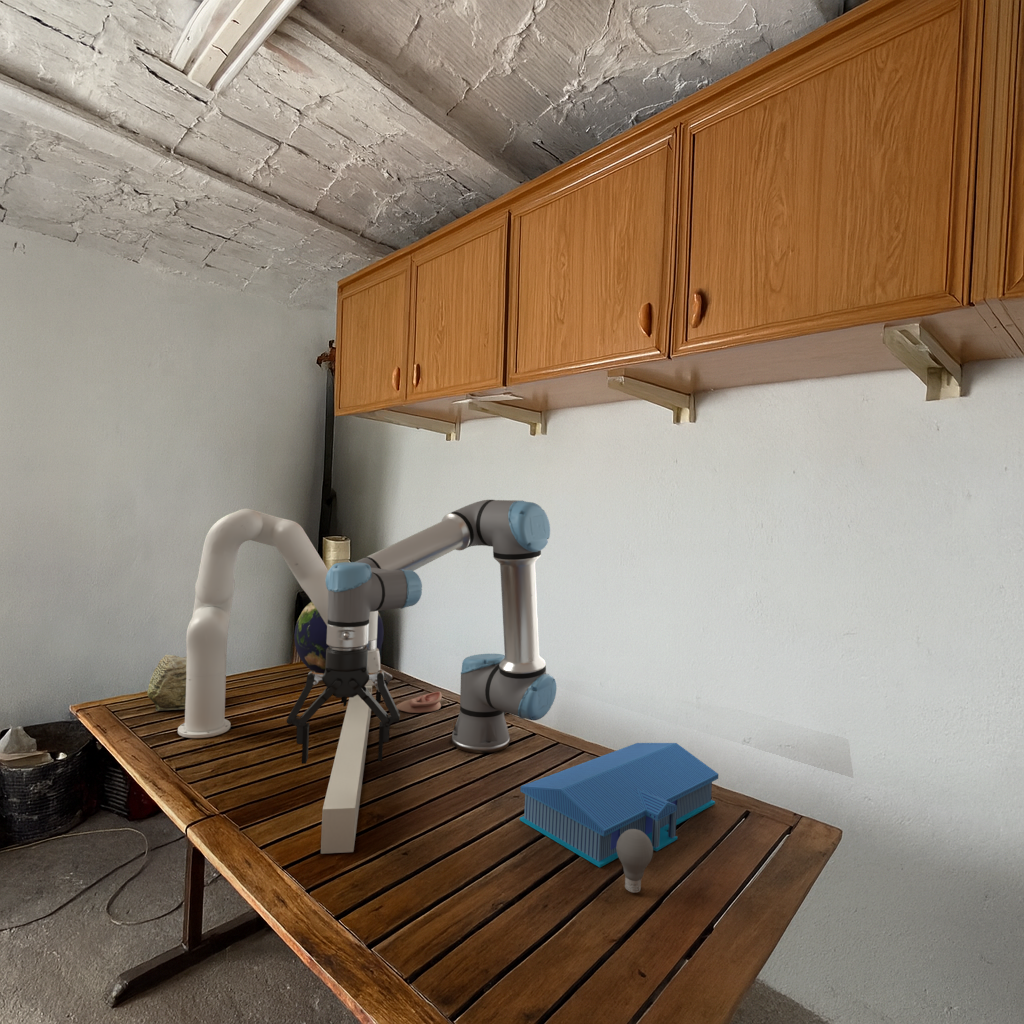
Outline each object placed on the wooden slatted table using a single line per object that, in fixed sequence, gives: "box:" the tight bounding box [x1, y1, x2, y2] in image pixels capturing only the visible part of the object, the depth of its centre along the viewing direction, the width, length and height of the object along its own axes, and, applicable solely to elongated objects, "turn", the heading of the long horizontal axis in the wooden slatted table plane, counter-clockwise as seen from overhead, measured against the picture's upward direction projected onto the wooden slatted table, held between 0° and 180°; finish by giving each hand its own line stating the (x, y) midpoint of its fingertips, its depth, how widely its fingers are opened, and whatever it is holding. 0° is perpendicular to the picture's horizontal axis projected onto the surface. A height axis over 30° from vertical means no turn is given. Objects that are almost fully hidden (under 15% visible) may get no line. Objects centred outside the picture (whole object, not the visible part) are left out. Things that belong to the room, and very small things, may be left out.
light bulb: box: [616, 829, 654, 894], centre depth 106 cm, size 6×6×10 cm
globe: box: [293, 601, 385, 673], centre depth 220 cm, size 30×30×30 cm
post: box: [320, 686, 373, 855], centre depth 150 cm, size 76×6×8 cm, turn 10°
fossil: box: [147, 654, 187, 712], centre depth 185 cm, size 9×18×15 cm, turn 132°
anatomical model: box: [395, 691, 443, 714], centre depth 193 cm, size 13×4×12 cm
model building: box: [519, 742, 719, 868], centre depth 132 cm, size 39×24×10 cm, turn 132°
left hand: (361, 704), depth 183 cm, fingers open, 8 cm apart
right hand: (342, 759), depth 118 cm, fingers open, 13 cm apart
